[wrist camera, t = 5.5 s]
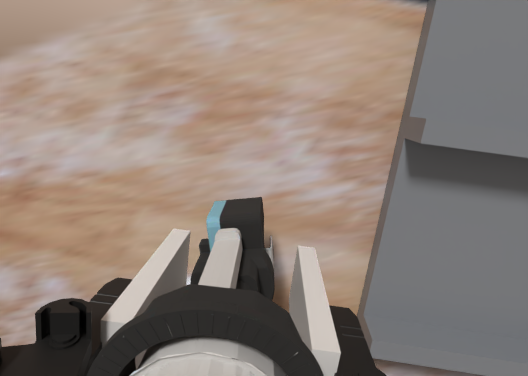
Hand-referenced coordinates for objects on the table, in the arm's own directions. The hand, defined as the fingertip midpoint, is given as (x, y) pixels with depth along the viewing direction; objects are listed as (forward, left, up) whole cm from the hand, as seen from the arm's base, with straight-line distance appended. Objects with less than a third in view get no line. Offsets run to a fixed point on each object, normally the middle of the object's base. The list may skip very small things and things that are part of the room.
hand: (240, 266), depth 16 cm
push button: (0, 0, -1) cm, 1 cm away
